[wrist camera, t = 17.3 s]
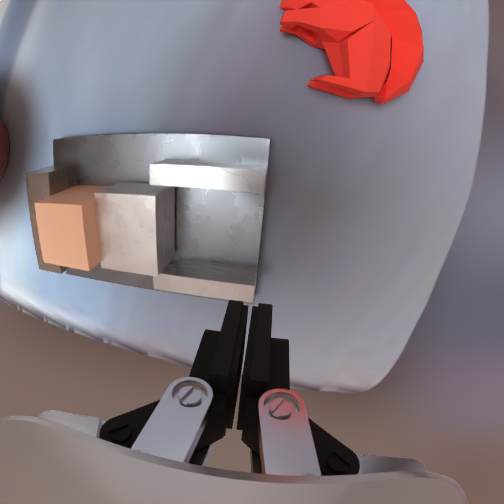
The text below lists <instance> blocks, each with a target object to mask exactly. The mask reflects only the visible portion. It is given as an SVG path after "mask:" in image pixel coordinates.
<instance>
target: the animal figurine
mask: <svg viewBox="0 0 504 504" xmlns="http://www.w3.org/2000/svg"><path fill="white" fill-rule="evenodd" d="M280 9H283V10H285V11H286V12H285V14H284V16H283V18H282V20H281V22H280V24H281V25H282V26H281V28H280V32H285V33H290V34H295V35H297V36H298V37H300V38H301V39H302V40H304V41H305V42H306V43H308V44H309V45H310V46H312V47H316V48H321V49H325V51H326V53H327V56H328V59H329V61H330V64H331V66H332V69H333V72H334V75H335V76H332V75H323V76H318V77H315V78H313V79H311V80H310V81H313V82H311V83H309V84H307V85H308V86H309V87H311V88H314V89H317V90H321V91H324V92H328V93H331V94H335V95H338V96H341V97H344V98H347V99H353V98H362V97H374V98H375V100H374V102H376V103H380V104H384V103H386V102H388V101H390V100H392V99H394V98H396V97H398V96H400V95H402V94H404V93H406V92H408V91H409V89H410V87H411V85H412V83H413V81H414V79H415V77H416V75H417V73H418V71H419V69H420V67H421V65H422V63H423V42H422V30H421V27H420V24H419V21H418V18H417V15H416V13H415V11H414V10H413V9H412V8H411V7H410V6H409V5H408V4H407V2H406V1H405V0H282V2H281V5H280ZM391 37H392V54H391V70H390V73H389V76H388V79H387V80H386V82H385V79H386V77H387V74H388V71H389V69H390V51H391ZM384 82H385V84H384ZM383 85H384V86H383Z"/></svg>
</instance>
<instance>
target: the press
mask: <svg viewBox="0 0 504 504" xmlns="http://www.w3.org/2000/svg"><path fill="white" fill-rule="evenodd" d="M270 142H271V139H270V138H259V137H247V136H234V135H217V134H192V133H132V134H108V135H92V136H79V137H69V138H60V139H54V140H53V155H54V165H53V166H49V167H46V168H42V169H39V170H36V171H32V172H29V173H26V181H27V193H28V203H29V211H30V219H31V226H32V232H33V238H34V244H35V250H36V255H37V260H38V264H39V269H42V270H46V271H51V272H56V273H60V274H62V273H63V272H64V271H65V270H66V274H70V275H75V276H80V277H85V278H90V279H96V280H101V281H106V282H112V283H117V284H123V285H128V286H134V287H140V288H146V289H152V290H158V291H164V292H171V293H177V294H184V295H190V296H197V297H204V298H212V299H219V300H226V301H229V300H236V301H243V303H250V304H254V299H255V291H256V281H257V272H258V262H259V253H260V243H261V233H262V223H263V213H264V203H265V193H266V183H267V173H268V163H269V152H270ZM119 182H134V183H150V185H161V186H175V255H174V257H173V258H172V259H171V261H170V262H169V263H168V264H167V266H166V267H165V268H164V270H163V271H162V272H161V274H160V275H159V276H158V277H156V276H150V275H143V274H137V273H130V272H124V271H118V270H112V269H106V268H101V262H99V263H98V264H97V265H96V266H95V267H94V268H92V269H91V270H90V271H86V270H81V269H75V268H70V267H65V266H60V265H55V264H50V263H45V262H44V261H43V256H42V251H41V245H40V240H39V233H38V227H37V220H36V212H35V202H37V201H40V200H42V199H44V198H47V197H49V196H51V195H54V194H56V193H59V192H61V191H64V190H66V189H69V188H71V187H74V186H77V185H88V186H111V185H114V184H116V183H119Z"/></svg>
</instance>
